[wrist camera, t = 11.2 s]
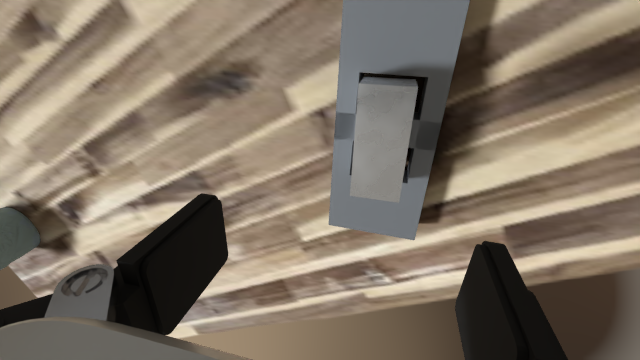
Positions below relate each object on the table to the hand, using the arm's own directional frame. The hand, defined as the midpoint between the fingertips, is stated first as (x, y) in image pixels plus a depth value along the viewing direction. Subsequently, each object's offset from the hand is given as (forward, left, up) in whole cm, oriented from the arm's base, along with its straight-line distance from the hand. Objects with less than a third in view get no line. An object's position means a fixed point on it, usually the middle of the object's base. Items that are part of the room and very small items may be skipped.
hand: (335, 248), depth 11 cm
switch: (+1, +1, -20) cm, 20 cm away
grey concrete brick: (0, +1, -20) cm, 20 cm away
